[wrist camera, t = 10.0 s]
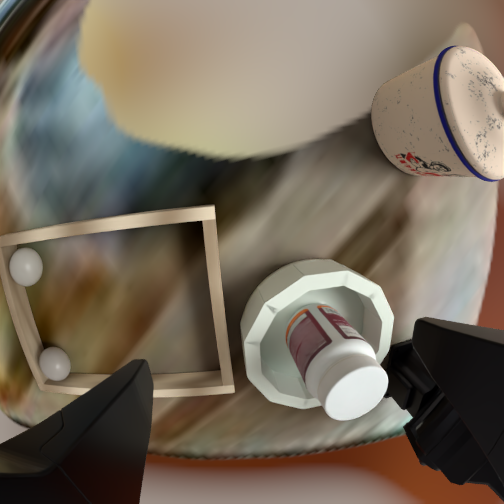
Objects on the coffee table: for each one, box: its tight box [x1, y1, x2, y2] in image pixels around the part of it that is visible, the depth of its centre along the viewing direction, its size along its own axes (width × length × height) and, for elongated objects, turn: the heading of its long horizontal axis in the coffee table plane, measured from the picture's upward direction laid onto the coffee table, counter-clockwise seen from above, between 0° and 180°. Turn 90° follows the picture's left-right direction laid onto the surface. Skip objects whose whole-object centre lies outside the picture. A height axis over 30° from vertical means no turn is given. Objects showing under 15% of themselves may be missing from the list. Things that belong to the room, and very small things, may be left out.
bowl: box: [240, 259, 394, 409], centre depth 21 cm, size 11×11×4 cm
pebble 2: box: [39, 347, 71, 381], centre depth 19 cm, size 3×3×3 cm
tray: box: [0, 204, 235, 397], centre depth 20 cm, size 18×14×2 cm
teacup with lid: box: [371, 46, 504, 182], centre depth 15 cm, size 12×9×12 cm
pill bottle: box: [285, 304, 388, 420], centre depth 18 cm, size 5×5×8 cm
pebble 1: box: [9, 247, 43, 286], centre depth 18 cm, size 3×3×3 cm
